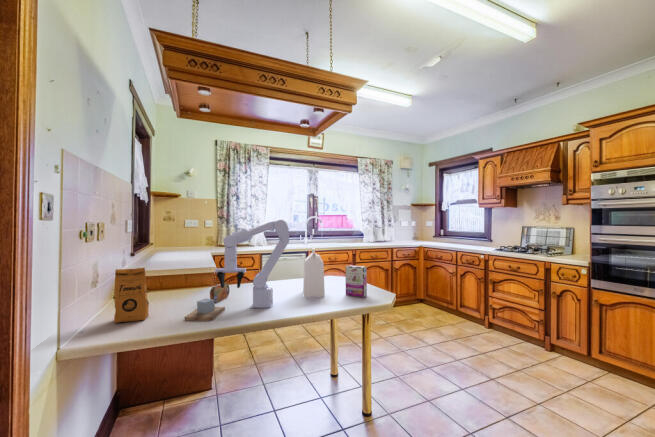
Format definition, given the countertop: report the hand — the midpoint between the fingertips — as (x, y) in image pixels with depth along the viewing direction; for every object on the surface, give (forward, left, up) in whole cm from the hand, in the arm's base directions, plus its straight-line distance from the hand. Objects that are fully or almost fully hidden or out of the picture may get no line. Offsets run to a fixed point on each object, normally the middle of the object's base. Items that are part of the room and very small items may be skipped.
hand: (230, 287), depth 140 cm
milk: (-39, -24, -10) cm, 47 cm away
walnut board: (+7, +12, -9) cm, 17 cm away
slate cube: (+7, +12, -8) cm, 16 cm away
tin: (+10, -12, -10) cm, 18 cm away
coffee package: (+36, +18, -10) cm, 41 cm away
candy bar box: (-63, -21, -10) cm, 67 cm away
